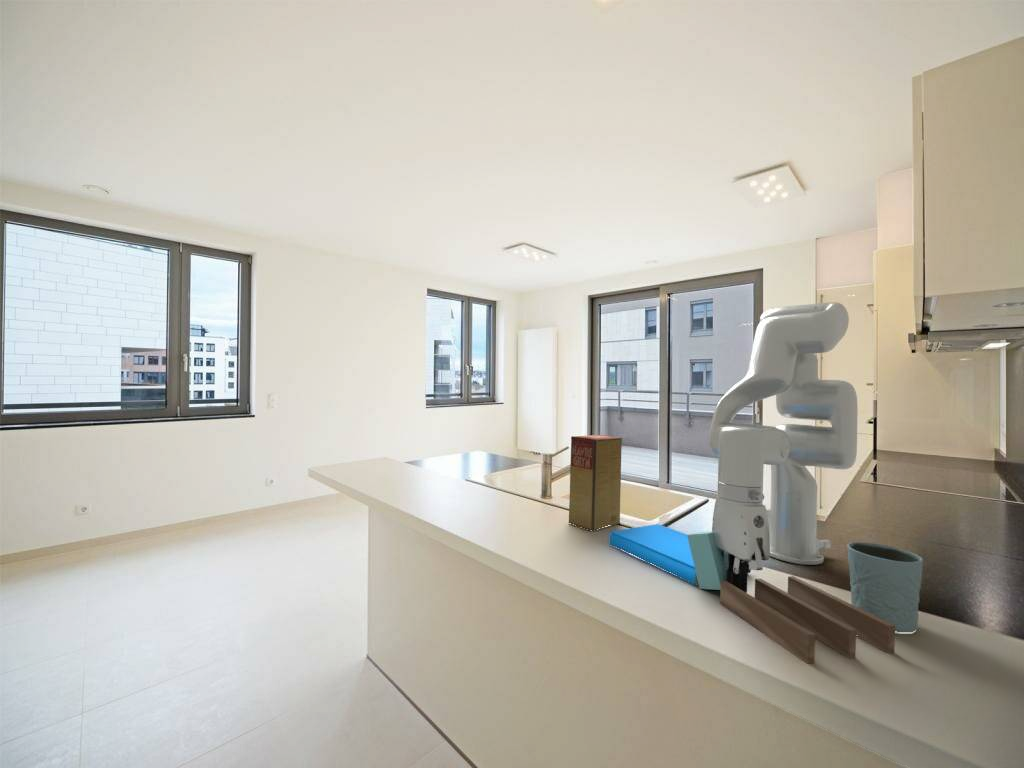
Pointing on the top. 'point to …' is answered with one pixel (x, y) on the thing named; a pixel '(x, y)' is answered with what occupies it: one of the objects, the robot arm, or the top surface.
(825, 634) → the slot rack
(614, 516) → the food packaging
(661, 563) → the book
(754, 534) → the robot arm
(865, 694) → the top surface
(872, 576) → the blue plant pot
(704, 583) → the block
